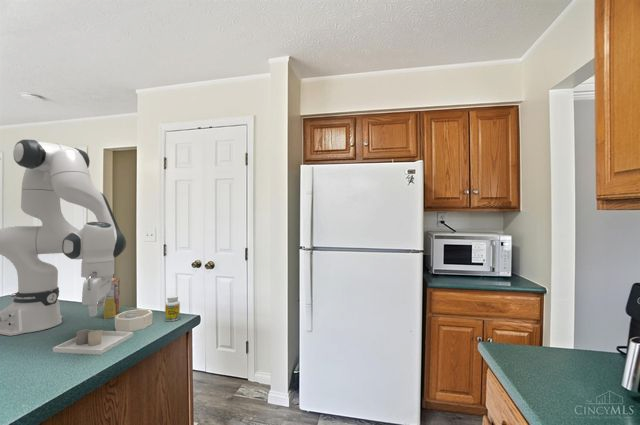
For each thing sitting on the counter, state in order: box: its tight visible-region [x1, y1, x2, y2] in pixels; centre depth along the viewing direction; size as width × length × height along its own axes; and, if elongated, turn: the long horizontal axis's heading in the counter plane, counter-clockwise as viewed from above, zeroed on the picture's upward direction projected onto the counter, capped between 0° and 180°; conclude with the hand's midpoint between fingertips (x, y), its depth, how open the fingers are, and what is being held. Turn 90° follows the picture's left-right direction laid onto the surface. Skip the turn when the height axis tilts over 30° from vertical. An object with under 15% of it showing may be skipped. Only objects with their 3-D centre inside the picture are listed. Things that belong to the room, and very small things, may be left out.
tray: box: [52, 329, 134, 356], centre depth 97 cm, size 16×14×2 cm
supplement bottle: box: [164, 294, 181, 322], centre depth 122 cm, size 5×5×10 cm
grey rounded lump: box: [125, 313, 136, 319], centre depth 114 cm, size 4×4×4 cm
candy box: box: [103, 277, 121, 320], centre depth 126 cm, size 9×4×15 cm, turn 23°
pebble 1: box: [75, 328, 91, 345], centre depth 97 cm, size 4×4×4 cm
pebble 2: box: [88, 329, 103, 346], centre depth 97 cm, size 4×4×4 cm
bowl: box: [114, 308, 153, 332], centre depth 113 cm, size 12×12×5 cm
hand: (97, 311), depth 97 cm, fingers open, 8 cm apart
